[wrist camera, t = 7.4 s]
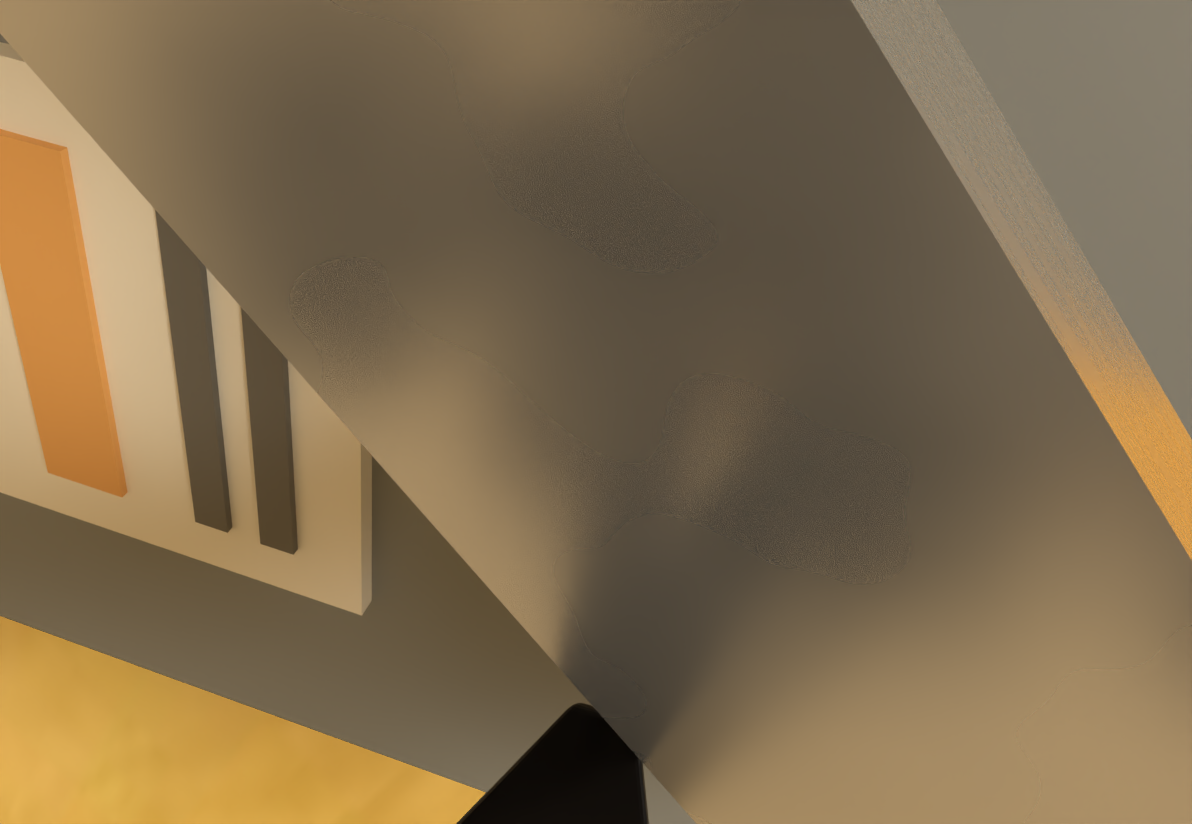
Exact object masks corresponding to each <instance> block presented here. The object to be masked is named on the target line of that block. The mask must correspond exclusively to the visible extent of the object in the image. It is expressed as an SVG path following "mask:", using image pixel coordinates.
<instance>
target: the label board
mask: <svg viewBox="0 0 1192 824" xmlns="http://www.w3.org/2000/svg"><path fill="white" fill-rule="evenodd" d="M936 1H937V3H938V4H939V6H940V8H941V10H942V11H943V13H944V15H945V16H946V18H947V20H948V22H949V23H950V25H951V27H952V29H953V30H954V32H955V34H956V35H957V37H958V39H959V41H960V42H961V44H962V46H963V47H964V49H965V51H966V53H967V54H968V56H969V58H970V59H971V61H972V63H973V65H974V66H975V68H976V70H977V71H978V73H979V75H980V77H981V78H982V80H983V82H984V84H985V85H986V87H987V89H988V90H989V92H990V94H991V96H992V97H993V99H994V101H995V102H996V104H997V106H998V108H999V109H1000V111H1001V113H1002V114H1003V116H1004V118H1005V120H1006V121H1007V123H1008V125H1009V126H1010V128H1011V130H1012V132H1013V133H1014V135H1015V137H1016V139H1017V140H1018V142H1019V144H1020V145H1021V147H1022V149H1023V151H1024V152H1025V154H1026V156H1027V157H1028V159H1029V161H1030V163H1031V164H1032V166H1033V168H1034V169H1035V171H1036V173H1037V175H1038V176H1039V178H1040V180H1041V181H1042V183H1043V185H1044V187H1045V188H1046V190H1047V192H1048V193H1049V195H1050V197H1051V199H1052V200H1053V202H1054V204H1055V206H1056V207H1057V209H1058V211H1059V212H1060V214H1061V216H1062V218H1063V219H1064V221H1065V223H1066V224H1067V226H1068V228H1069V230H1070V231H1071V233H1072V235H1073V236H1074V238H1075V240H1076V242H1077V243H1078V245H1079V247H1080V248H1081V250H1082V252H1083V254H1084V255H1085V257H1086V259H1087V260H1088V262H1089V264H1090V266H1091V267H1092V269H1093V271H1094V273H1095V274H1096V276H1097V278H1098V279H1099V281H1100V283H1101V285H1102V286H1103V288H1104V290H1105V291H1106V293H1107V295H1108V297H1109V298H1110V300H1111V302H1112V303H1113V305H1114V307H1115V309H1116V310H1117V312H1118V314H1119V315H1120V317H1121V319H1122V321H1123V322H1124V324H1125V326H1126V328H1127V329H1128V331H1129V333H1130V334H1131V336H1132V338H1133V340H1134V341H1135V343H1136V345H1137V346H1138V348H1139V350H1140V352H1141V353H1142V355H1143V357H1144V358H1145V360H1146V362H1147V364H1148V365H1149V367H1150V369H1151V370H1152V372H1153V374H1154V376H1155V377H1156V379H1157V381H1158V382H1159V384H1160V386H1161V388H1162V389H1163V391H1164V393H1165V395H1166V396H1167V398H1168V400H1169V401H1170V403H1171V405H1172V407H1173V408H1174V410H1175V412H1176V413H1177V415H1178V417H1179V419H1180V420H1181V422H1182V424H1183V425H1184V427H1185V429H1186V431H1187V432H1188V434H1189V436H1190V437H1191V439H1192V0H936ZM0 616H2V617H5V618H8V619H10V620H13V621H16V622H19V623H21V624H24V625H27V626H30V627H32V628H35V629H38V630H41V631H43V632H46V633H49V634H52V635H54V636H57V637H60V638H63V639H65V640H68V641H71V642H74V643H76V644H79V645H82V646H85V647H87V648H90V649H93V650H96V651H98V652H101V653H104V654H107V655H109V656H112V657H115V658H118V659H120V660H123V661H126V662H129V663H131V664H134V665H137V666H140V667H143V668H145V669H148V670H151V671H154V672H156V673H159V674H162V675H165V676H167V677H170V678H173V679H176V680H178V681H181V682H184V683H187V684H189V685H192V686H195V687H198V688H200V689H203V690H206V691H209V692H211V693H214V694H217V695H220V696H222V697H225V698H228V699H231V700H233V701H236V702H239V703H242V704H244V705H247V706H250V707H253V708H255V709H258V710H261V711H264V712H266V713H269V714H272V715H275V716H277V717H280V718H283V719H286V720H288V721H291V722H294V723H297V724H299V725H302V726H305V727H308V728H310V729H313V730H316V731H319V732H322V733H324V734H327V735H330V736H333V737H335V738H338V739H341V740H344V741H346V742H349V743H352V744H355V745H357V746H360V747H363V748H366V749H368V750H371V751H374V752H377V753H379V754H382V755H385V756H388V757H390V758H393V759H396V760H399V761H401V762H404V763H407V764H410V765H412V766H415V767H418V768H421V769H423V770H426V771H429V772H432V773H434V774H437V775H440V776H443V777H445V778H448V779H451V780H454V781H456V782H459V783H462V784H465V785H467V786H470V787H473V788H476V789H478V790H481V791H484V792H487V791H488V790H489V789H490V788H491V787H492V786H493V785H494V784H495V783H496V782H497V781H498V780H499V779H500V778H501V777H502V776H503V775H504V774H505V773H506V772H507V771H508V770H509V769H510V768H511V767H512V765H513V764H514V763H515V762H516V761H517V760H518V759H519V758H520V757H521V756H522V755H523V754H524V753H525V752H526V751H527V750H528V749H529V748H530V747H531V746H532V745H533V744H534V743H535V742H536V741H537V740H538V739H539V737H540V736H541V735H542V734H543V733H544V732H545V731H546V730H547V729H548V728H549V727H550V726H551V725H552V724H553V723H554V722H555V721H556V720H557V719H558V718H559V717H560V716H561V715H562V714H563V713H564V712H565V711H566V710H567V709H568V708H569V707H570V706H572V705H573V704H576V703H585V704H588V705H591V704H590V702H589V701H588V700H587V699H586V698H585V697H584V696H583V695H582V693H581V692H580V691H579V690H578V689H577V688H576V687H575V685H574V684H573V683H572V682H571V681H570V680H569V679H568V678H567V676H566V675H565V674H564V673H563V672H562V671H561V670H560V668H559V667H558V666H557V665H556V664H555V663H554V662H553V660H552V659H551V658H550V657H549V656H548V655H547V654H546V653H545V651H544V650H543V649H542V648H541V647H540V646H539V645H538V643H537V642H536V641H535V640H534V639H533V638H532V637H531V636H530V634H529V633H528V632H527V631H526V630H525V629H524V628H523V626H522V625H521V624H520V623H519V622H518V621H517V620H516V618H515V617H514V616H513V615H512V614H511V613H510V612H509V611H508V609H507V608H506V607H505V606H504V605H503V604H502V603H501V601H500V600H499V599H498V598H497V597H496V596H495V595H494V594H493V592H492V591H491V590H490V589H489V588H488V587H487V586H486V584H485V583H484V582H483V581H482V580H481V579H480V578H479V577H478V575H477V574H476V573H475V572H474V571H473V570H472V569H471V567H470V566H469V565H468V564H467V563H466V562H465V561H464V559H463V558H462V557H461V556H460V555H459V554H458V553H457V552H456V550H455V549H454V548H453V547H452V546H451V545H450V544H449V542H448V541H447V540H446V539H445V538H444V537H443V536H442V535H441V533H440V532H439V531H438V530H437V529H436V528H435V527H434V525H433V524H432V523H431V522H430V521H429V520H428V519H427V517H426V516H425V515H424V514H423V513H422V512H421V511H420V510H419V508H418V507H417V506H416V505H415V504H414V503H413V502H412V500H411V499H410V498H409V497H408V496H407V495H406V494H405V493H404V491H403V490H402V489H401V488H400V487H399V486H398V485H397V483H396V482H395V481H394V480H393V479H392V478H391V477H390V476H389V474H388V473H387V472H386V471H385V470H384V469H383V468H382V466H381V465H380V464H379V463H378V462H377V461H376V460H375V458H374V457H373V456H372V455H371V454H370V453H369V452H368V451H367V449H366V448H365V447H364V446H363V445H362V444H361V443H360V441H359V440H358V439H357V438H356V437H355V436H354V435H353V434H352V432H351V431H350V430H349V429H348V428H347V427H346V426H345V424H344V423H343V422H342V421H341V420H340V419H339V418H338V416H337V415H336V414H335V413H334V412H333V411H332V410H331V409H330V407H329V406H328V405H327V404H326V403H325V402H324V401H323V399H322V398H321V397H320V396H319V395H318V394H317V393H316V392H315V390H314V389H313V388H312V387H311V386H310V385H309V384H308V382H307V381H306V380H305V379H304V378H303V377H302V376H301V375H300V373H299V372H298V371H297V370H296V369H295V368H294V367H293V365H292V364H291V363H290V362H289V361H288V360H287V359H286V357H285V356H284V355H283V354H282V353H281V352H280V351H279V350H278V348H277V347H276V346H275V345H274V344H273V343H272V342H271V340H270V339H269V338H268V337H267V336H266V335H265V334H264V333H263V331H262V330H261V329H260V328H259V327H258V326H257V325H256V323H255V322H254V321H253V320H252V319H251V318H250V317H249V315H248V314H247V313H246V312H245V311H244V310H243V309H242V308H241V306H240V305H239V304H238V303H237V302H236V301H235V300H234V298H233V297H232V296H231V295H230V294H229V293H228V292H227V291H226V289H225V288H224V287H223V286H222V285H221V284H220V283H219V281H218V280H217V279H216V278H215V277H214V276H213V275H212V274H211V272H210V271H209V270H208V269H207V268H206V267H205V266H204V264H203V263H202V262H201V261H200V260H199V259H198V258H197V256H196V255H195V254H194V253H193V252H192V251H191V250H190V249H189V247H188V246H187V245H186V244H185V243H184V242H183V241H182V239H181V238H180V237H179V236H178V235H177V234H176V233H175V232H174V230H173V229H172V228H171V227H170V226H169V225H168V224H167V222H166V221H165V220H164V219H163V218H162V217H161V216H160V214H159V213H158V212H157V211H156V210H155V209H154V208H153V207H152V205H151V204H150V203H149V202H148V201H147V200H146V199H145V197H144V196H143V195H142V194H141V193H140V192H139V191H138V190H137V188H136V187H135V186H134V185H133V184H132V183H131V182H130V180H129V179H128V178H127V177H126V176H125V175H124V174H123V173H122V171H121V170H120V169H119V168H118V167H117V166H116V165H115V163H114V162H113V161H112V160H111V159H110V158H109V157H108V155H107V154H106V153H105V152H104V151H103V150H102V149H101V148H100V146H99V145H98V144H97V143H96V142H95V141H94V140H93V138H92V137H91V136H90V135H89V134H88V133H87V132H86V131H85V129H84V128H83V127H82V126H81V125H80V124H79V123H78V121H77V120H76V119H75V118H74V117H73V116H72V115H71V113H70V112H69V111H68V110H67V109H66V108H65V107H64V106H63V104H62V103H61V102H60V101H59V100H58V99H57V98H56V96H55V95H54V94H53V93H52V92H51V91H50V90H49V89H48V87H47V86H46V85H45V84H44V83H43V82H42V81H41V79H40V78H39V77H38V76H37V75H36V74H35V73H34V72H33V70H32V69H31V68H30V67H29V66H28V65H27V64H26V62H25V61H24V60H23V59H22V58H21V57H20V56H19V54H18V53H17V52H16V51H15V50H14V49H13V48H12V47H11V45H10V44H9V43H8V42H7V41H6V40H5V39H4V37H3V36H2V35H1V34H0ZM643 770H644V779H645V789H646V799H647V809H648V819H649V824H696V823H695V822H694V820H693V819H692V818H691V817H690V816H689V815H688V814H687V813H686V811H685V810H684V809H683V808H682V807H681V806H680V805H679V803H678V802H677V801H676V800H675V799H674V798H673V797H672V796H671V794H670V793H669V792H668V791H667V790H666V789H665V788H664V786H663V785H662V784H661V783H660V782H659V781H658V780H657V779H656V777H655V776H654V775H653V774H652V773H651V772H650V771H649V769H648V768H647V767H646V766H645V765H644V764H643Z"/></svg>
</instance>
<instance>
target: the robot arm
mask: <svg viewBox="0 0 1192 824" xmlns="http://www.w3.org/2000/svg"><path fill="white" fill-rule="evenodd" d="M457 824H649V819H648V809H647V799H646V789H645V779H644V770H643V763H642V761H641V760H640V759H639V758H638V757H637V756H636V755H635V754H634V752H633V751H632V750H631V749H630V748H629V747H628V746H627V744H626V743H625V742H624V741H623V740H622V739H621V738H620V737H619V735H618V734H617V733H616V732H615V731H614V730H613V729H612V727H611V726H610V725H609V724H608V723H607V722H606V721H605V719H604V718H603V717H602V716H601V715H600V714H599V713H598V712H597V710H596V709H595V708H594V707H593V706H592V705H588V704H585V703H576V704H573V705H572V706H570V707H569V708H568V709H567V710H566V711H565V712H564V713H563V714H562V715H561V716H560V717H559V718H558V719H557V720H556V721H555V722H554V723H553V724H552V725H551V726H550V727H549V728H548V729H547V730H546V731H545V732H544V733H543V734H542V735H541V736H540V737H539V739H538V740H537V741H536V742H535V743H534V744H533V745H532V746H531V747H530V748H529V749H528V750H527V751H526V752H525V753H524V754H523V755H522V756H521V757H520V758H519V759H518V760H517V761H516V762H515V763H514V764H513V765H512V767H511V768H510V769H509V770H508V771H507V772H506V773H505V774H504V775H503V776H502V777H501V778H500V779H499V780H498V781H497V782H496V783H495V784H494V785H493V786H492V787H491V788H490V789H489V790H488V791H487V792H486V794H485V795H484V796H483V797H482V798H481V799H480V800H479V801H478V802H477V803H476V804H475V805H474V806H473V807H472V808H471V809H470V810H469V811H468V812H467V813H466V814H465V815H464V816H463V817H462V818H461V819H460V820H459V822H458V823H457Z"/></svg>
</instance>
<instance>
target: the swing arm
mask: <svg viewBox="0 0 1192 824" xmlns="http://www.w3.org/2000/svg"><path fill="white" fill-rule="evenodd" d="M0 34H1V35H2V36H3V37H4V39H5V40H6V41H7V42H8V43H9V44H10V45H11V47H12V48H13V49H14V50H15V51H16V52H17V53H18V54H19V56H20V57H21V58H22V59H23V60H24V61H25V62H26V64H27V65H28V66H29V67H30V68H31V69H32V70H33V72H34V73H35V74H36V75H37V76H38V77H39V78H40V79H41V81H42V82H43V83H44V84H45V85H46V86H47V87H48V89H49V90H50V91H51V92H52V93H53V94H54V95H55V96H56V98H57V99H58V100H59V101H60V102H61V103H62V104H63V106H64V107H65V108H66V109H67V110H68V111H69V112H70V113H71V115H72V116H73V117H74V118H75V119H76V120H77V121H78V123H79V124H80V125H81V126H82V127H83V128H84V129H85V131H86V132H87V133H88V134H89V135H90V136H91V137H92V138H93V140H94V141H95V142H96V143H97V144H98V145H99V146H100V148H101V149H102V150H103V151H104V152H105V153H106V154H107V155H108V157H109V158H110V159H111V160H112V161H113V162H114V163H115V165H116V166H117V167H118V168H119V169H120V170H121V171H122V173H123V174H124V175H125V176H126V177H127V178H128V179H129V180H130V182H131V183H132V184H133V185H134V186H135V187H136V188H137V190H138V191H139V192H140V193H141V194H142V195H143V196H144V197H145V199H146V200H147V201H148V202H149V203H150V204H151V205H152V207H153V208H154V209H155V210H156V211H157V212H158V213H159V214H160V216H161V217H162V218H163V219H164V220H165V221H166V222H167V224H168V225H169V226H170V227H171V228H172V229H173V230H174V232H175V233H176V234H177V235H178V236H179V237H180V238H181V239H182V241H183V242H184V243H185V244H186V245H187V246H188V247H189V249H190V250H191V251H192V252H193V253H194V254H195V255H196V256H197V258H198V259H199V260H200V261H201V262H202V263H203V264H204V266H205V267H206V268H207V269H208V270H209V271H210V272H211V274H212V275H213V276H214V277H215V278H216V279H217V280H218V281H219V283H220V284H221V285H222V286H223V287H224V288H225V289H226V291H227V292H228V293H229V294H230V295H231V296H232V297H233V298H234V300H235V301H236V302H237V303H238V304H239V305H240V306H241V308H242V309H243V310H244V311H245V312H246V313H247V314H248V315H249V317H250V318H251V319H252V320H253V321H254V322H255V323H256V325H257V326H258V327H259V328H260V329H261V330H262V331H263V333H264V334H265V335H266V336H267V337H268V338H269V339H270V340H271V342H272V343H273V344H274V345H275V346H276V347H277V348H278V350H279V351H280V352H281V353H282V354H283V355H284V356H285V357H286V359H287V360H288V361H289V362H290V363H291V364H292V365H293V367H294V368H295V369H296V370H297V371H298V372H299V373H300V375H301V376H302V377H303V378H304V379H305V380H306V381H307V382H308V384H309V385H310V386H311V387H312V388H313V389H314V390H315V392H316V393H317V394H318V395H319V396H320V397H321V398H322V399H323V401H324V402H325V403H326V404H327V405H328V406H329V407H330V409H331V410H332V411H333V412H334V413H335V414H336V415H337V416H338V418H339V419H340V420H341V421H342V422H343V423H344V424H345V426H346V427H347V428H348V429H349V430H350V431H351V432H352V434H353V435H354V436H355V437H356V438H357V439H358V440H359V441H360V443H361V444H362V445H363V446H364V447H365V448H366V449H367V451H368V452H369V453H370V454H371V455H372V456H373V457H374V458H375V460H376V461H377V462H378V463H379V464H380V465H381V466H382V468H383V469H384V470H385V471H386V472H387V473H388V474H389V476H390V477H391V478H392V479H393V480H394V481H395V482H396V483H397V485H398V486H399V487H400V488H401V489H402V490H403V491H404V493H405V494H406V495H407V496H408V497H409V498H410V499H411V500H412V502H413V503H414V504H415V505H416V506H417V507H418V508H419V510H420V511H421V512H422V513H423V514H424V515H425V516H426V517H427V519H428V520H429V521H430V522H431V523H432V524H433V525H434V527H435V528H436V529H437V530H438V531H439V532H440V533H441V535H442V536H443V537H444V538H445V539H446V540H447V541H448V542H449V544H450V545H451V546H452V547H453V548H454V549H455V550H456V552H457V553H458V554H459V555H460V556H461V557H462V558H463V559H464V561H465V562H466V563H467V564H468V565H469V566H470V567H471V569H472V570H473V571H474V572H475V573H476V574H477V575H478V577H479V578H480V579H481V580H482V581H483V582H484V583H485V584H486V586H487V587H488V588H489V589H490V590H491V591H492V592H493V594H494V595H495V596H496V597H497V598H498V599H499V600H500V601H501V603H502V604H503V605H504V606H505V607H506V608H507V609H508V611H509V612H510V613H511V614H512V615H513V616H514V617H515V618H516V620H517V621H518V622H519V623H520V624H521V625H522V626H523V628H524V629H525V630H526V631H527V632H528V633H529V634H530V636H531V637H532V638H533V639H534V640H535V641H536V642H537V643H538V645H539V646H540V647H541V648H542V649H543V650H544V651H545V653H546V654H547V655H548V656H549V657H550V658H551V659H552V660H553V662H554V663H555V664H556V665H557V666H558V667H559V668H560V670H561V671H562V672H563V673H564V674H565V675H566V676H567V678H568V679H569V680H570V681H571V682H572V683H573V684H574V685H575V687H576V688H577V689H578V690H579V691H580V692H581V693H582V695H583V696H584V697H585V698H586V699H587V700H588V701H589V702H590V704H591V705H592V706H593V707H594V708H595V709H596V710H597V712H598V713H599V714H600V715H601V716H602V717H603V718H604V719H605V721H606V722H607V723H608V724H609V725H610V726H611V727H612V729H613V730H614V731H615V732H616V733H617V734H618V735H619V737H620V738H621V739H622V740H623V741H624V742H625V743H626V744H627V746H628V747H629V748H630V749H631V750H632V751H633V752H634V754H635V755H636V756H637V757H638V758H639V759H640V760H641V761H642V763H643V764H644V765H645V766H646V767H647V768H648V769H649V771H650V772H651V773H652V774H653V775H654V776H655V777H656V779H657V780H658V781H659V782H660V783H661V784H662V785H663V786H664V788H665V789H666V790H667V791H668V792H669V793H670V794H671V796H672V797H673V798H674V799H675V800H676V801H677V802H678V803H679V805H680V806H681V807H682V808H683V809H684V810H685V811H686V813H687V814H688V815H689V816H690V817H691V818H692V819H693V820H694V822H695V823H696V824H1192V439H1191V437H1190V436H1189V434H1188V432H1187V431H1186V429H1185V427H1184V425H1183V424H1182V422H1181V420H1180V419H1179V417H1178V415H1177V413H1176V412H1175V410H1174V408H1173V407H1172V405H1171V403H1170V401H1169V400H1168V398H1167V396H1166V395H1165V393H1164V391H1163V389H1162V388H1161V386H1160V384H1159V382H1158V381H1157V379H1156V377H1155V376H1154V374H1153V372H1152V370H1151V369H1150V367H1149V365H1148V364H1147V362H1146V360H1145V358H1144V357H1143V355H1142V353H1141V352H1140V350H1139V348H1138V346H1137V345H1136V343H1135V341H1134V340H1133V338H1132V336H1131V334H1130V333H1129V331H1128V329H1127V328H1126V326H1125V324H1124V322H1123V321H1122V319H1121V317H1120V315H1119V314H1118V312H1117V310H1116V309H1115V307H1114V305H1113V303H1112V302H1111V300H1110V298H1109V297H1108V295H1107V293H1106V291H1105V290H1104V288H1103V286H1102V285H1101V283H1100V281H1099V279H1098V278H1097V276H1096V274H1095V273H1094V271H1093V269H1092V267H1091V266H1090V264H1089V262H1088V260H1087V259H1086V257H1085V255H1084V254H1083V252H1082V250H1081V248H1080V247H1079V245H1078V243H1077V242H1076V240H1075V238H1074V236H1073V235H1072V233H1071V231H1070V230H1069V228H1068V226H1067V224H1066V223H1065V221H1064V219H1063V218H1062V216H1061V214H1060V212H1059V211H1058V209H1057V207H1056V206H1055V204H1054V202H1053V200H1052V199H1051V197H1050V195H1049V193H1048V192H1047V190H1046V188H1045V187H1044V185H1043V183H1042V181H1041V180H1040V178H1039V176H1038V175H1037V173H1036V171H1035V169H1034V168H1033V166H1032V164H1031V163H1030V161H1029V159H1028V157H1027V156H1026V154H1025V152H1024V151H1023V149H1022V147H1021V145H1020V144H1019V142H1018V140H1017V139H1016V137H1015V135H1014V133H1013V132H1012V130H1011V128H1010V126H1009V125H1008V123H1007V121H1006V120H1005V118H1004V116H1003V114H1002V113H1001V111H1000V109H999V108H998V106H997V104H996V102H995V101H994V99H993V97H992V96H991V94H990V92H989V90H988V89H987V87H986V85H985V84H984V82H983V80H982V78H981V77H980V75H979V73H978V71H977V70H976V68H975V66H974V65H973V63H972V61H971V59H970V58H969V56H968V54H967V53H966V51H965V49H964V47H963V46H962V44H961V42H960V41H959V39H958V37H957V35H956V34H955V32H954V30H953V29H952V27H951V25H950V23H949V22H948V20H947V18H946V16H945V15H944V13H943V11H942V10H941V8H940V6H939V4H938V3H937V1H936V0H0Z"/></svg>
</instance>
